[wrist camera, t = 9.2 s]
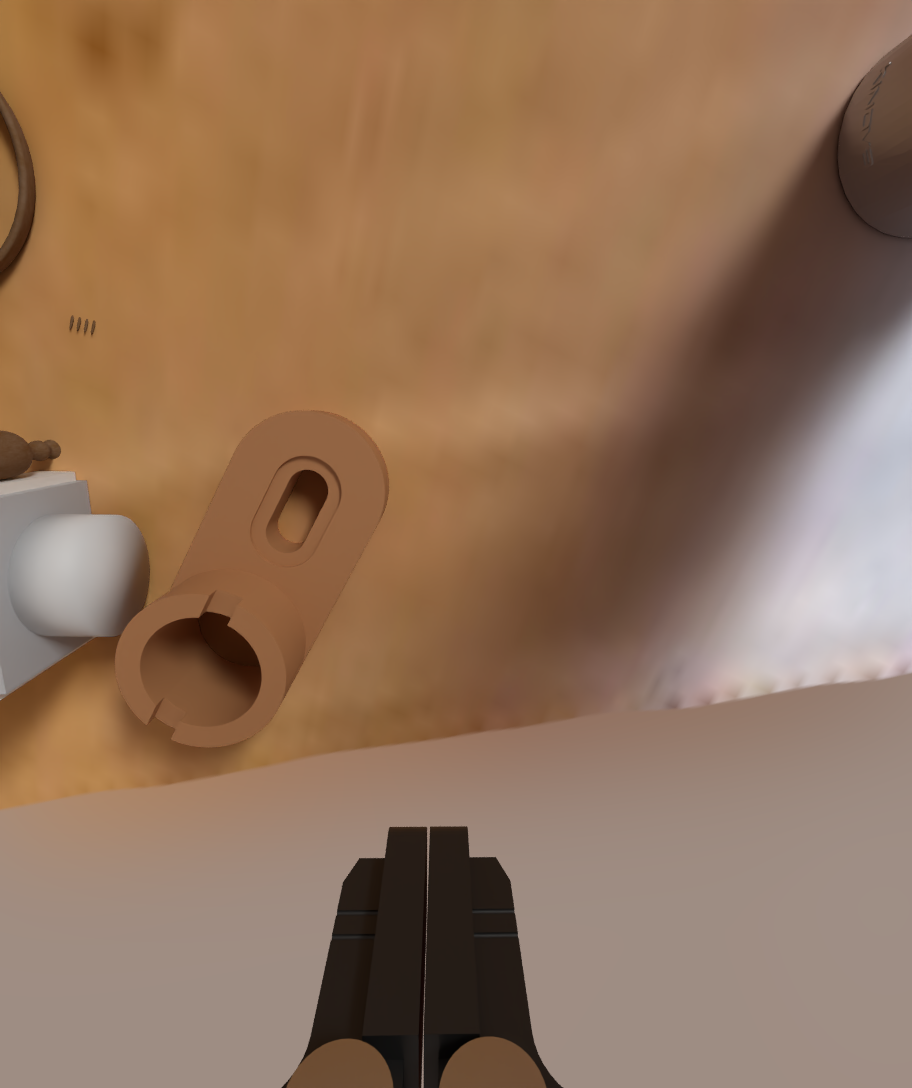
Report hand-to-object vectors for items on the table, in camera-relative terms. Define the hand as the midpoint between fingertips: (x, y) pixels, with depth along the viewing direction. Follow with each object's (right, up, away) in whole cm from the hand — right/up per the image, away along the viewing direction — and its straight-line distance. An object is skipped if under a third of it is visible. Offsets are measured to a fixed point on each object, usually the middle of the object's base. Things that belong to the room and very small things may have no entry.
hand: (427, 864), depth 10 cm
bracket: (-10, +6, +22) cm, 25 cm away
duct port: (-20, +5, +22) cm, 30 cm away
